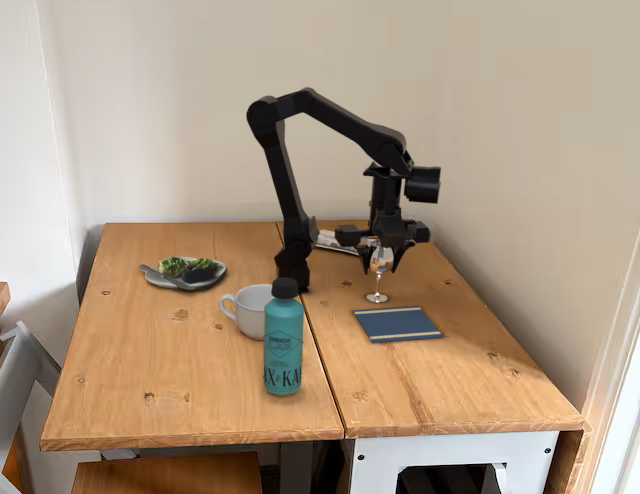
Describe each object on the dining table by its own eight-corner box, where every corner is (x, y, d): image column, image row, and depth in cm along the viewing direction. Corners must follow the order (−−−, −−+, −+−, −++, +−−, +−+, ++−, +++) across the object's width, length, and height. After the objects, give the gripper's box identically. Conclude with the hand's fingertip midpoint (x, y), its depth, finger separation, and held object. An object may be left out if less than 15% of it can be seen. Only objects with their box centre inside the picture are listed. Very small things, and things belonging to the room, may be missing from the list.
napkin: (372, 343, 134) (372, 341, 134) (352, 311, 146) (352, 310, 146) (442, 337, 137) (443, 335, 136) (417, 307, 148) (418, 305, 148)
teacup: (298, 326, 140) (299, 288, 136) (280, 350, 131) (281, 310, 127) (232, 315, 144) (231, 278, 140) (211, 338, 135) (209, 299, 131)
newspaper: (301, 247, 178) (301, 237, 177) (324, 238, 188) (325, 228, 186) (384, 264, 168) (385, 254, 167) (404, 254, 177) (405, 244, 176)
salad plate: (121, 286, 156) (119, 266, 154) (159, 258, 170) (158, 240, 168) (202, 299, 151) (201, 278, 148) (234, 269, 165) (234, 250, 163)
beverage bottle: (261, 383, 121) (261, 273, 111) (300, 382, 122) (303, 272, 111) (264, 404, 116) (263, 289, 105) (304, 402, 116) (308, 288, 106)
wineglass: (389, 304, 149) (395, 249, 143) (362, 302, 150) (366, 247, 144) (391, 293, 154) (396, 240, 148) (364, 291, 155) (369, 237, 149)
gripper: (350, 213, 133) (345, 291, 141) (445, 209, 136) (435, 285, 144) (335, 196, 142) (332, 270, 150) (425, 192, 145) (416, 265, 153)
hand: (378, 273), depth 149 cm, fingers closed on wineglass, 5 cm apart
